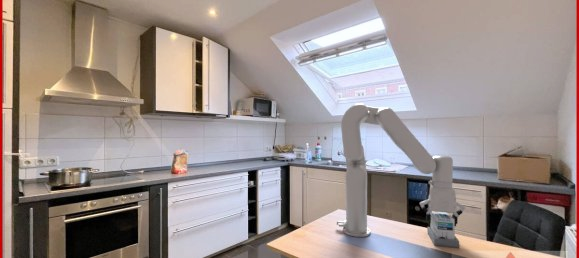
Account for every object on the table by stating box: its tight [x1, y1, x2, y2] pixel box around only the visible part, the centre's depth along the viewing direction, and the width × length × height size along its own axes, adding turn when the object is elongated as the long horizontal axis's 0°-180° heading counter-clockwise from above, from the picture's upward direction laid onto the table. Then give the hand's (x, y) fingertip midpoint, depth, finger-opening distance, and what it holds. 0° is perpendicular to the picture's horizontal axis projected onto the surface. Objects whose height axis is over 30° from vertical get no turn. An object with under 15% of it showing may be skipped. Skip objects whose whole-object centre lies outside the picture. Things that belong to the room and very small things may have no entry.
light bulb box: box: [430, 211, 456, 240], centre depth 114 cm, size 11×7×11 cm, turn 166°
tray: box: [426, 226, 460, 249], centre depth 114 cm, size 9×13×3 cm
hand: (441, 223), depth 114 cm, fingers open, 9 cm apart
